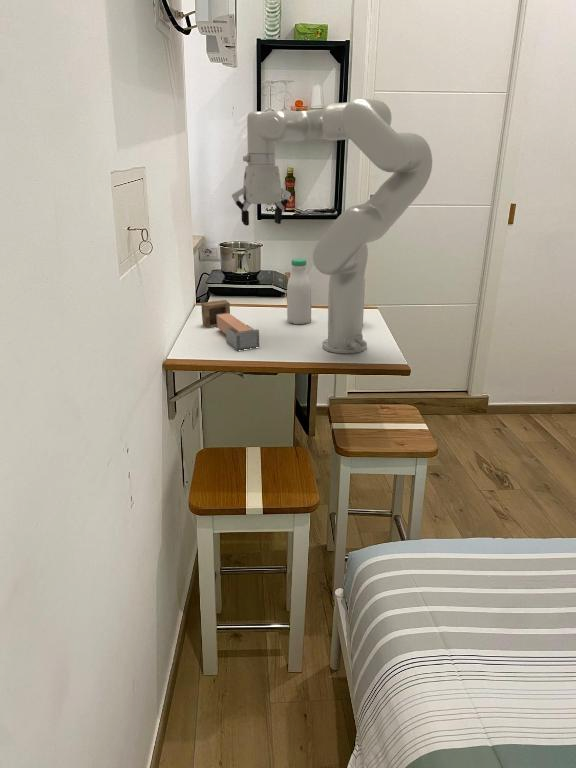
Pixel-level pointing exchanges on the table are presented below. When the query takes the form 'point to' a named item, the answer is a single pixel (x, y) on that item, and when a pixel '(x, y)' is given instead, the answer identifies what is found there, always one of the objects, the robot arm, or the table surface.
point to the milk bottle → (299, 294)
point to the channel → (243, 339)
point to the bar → (230, 323)
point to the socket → (213, 312)
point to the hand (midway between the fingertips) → (262, 224)
